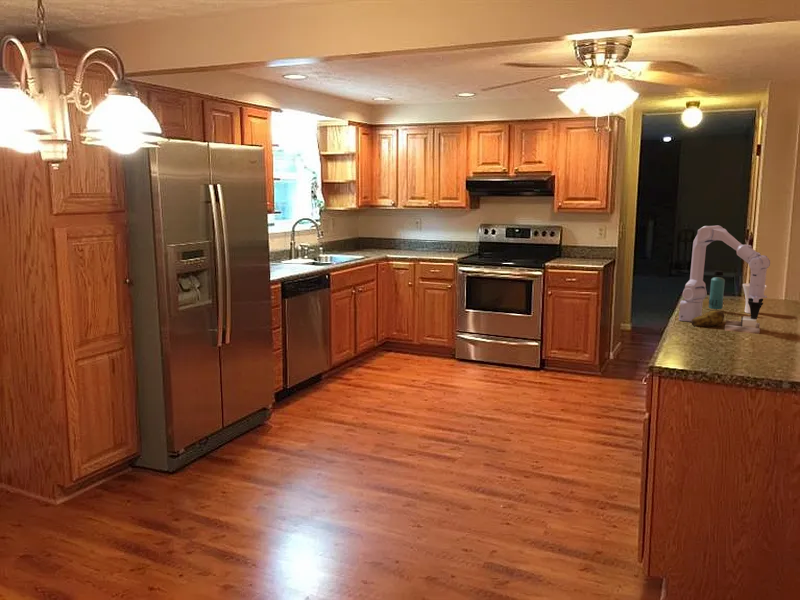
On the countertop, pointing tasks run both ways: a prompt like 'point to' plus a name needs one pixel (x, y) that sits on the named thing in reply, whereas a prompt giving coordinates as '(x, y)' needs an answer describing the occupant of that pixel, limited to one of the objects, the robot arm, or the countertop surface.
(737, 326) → the press board
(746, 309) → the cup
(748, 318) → the block
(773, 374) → the countertop surface
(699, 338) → the countertop surface
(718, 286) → the beverage bottle
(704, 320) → the potato
